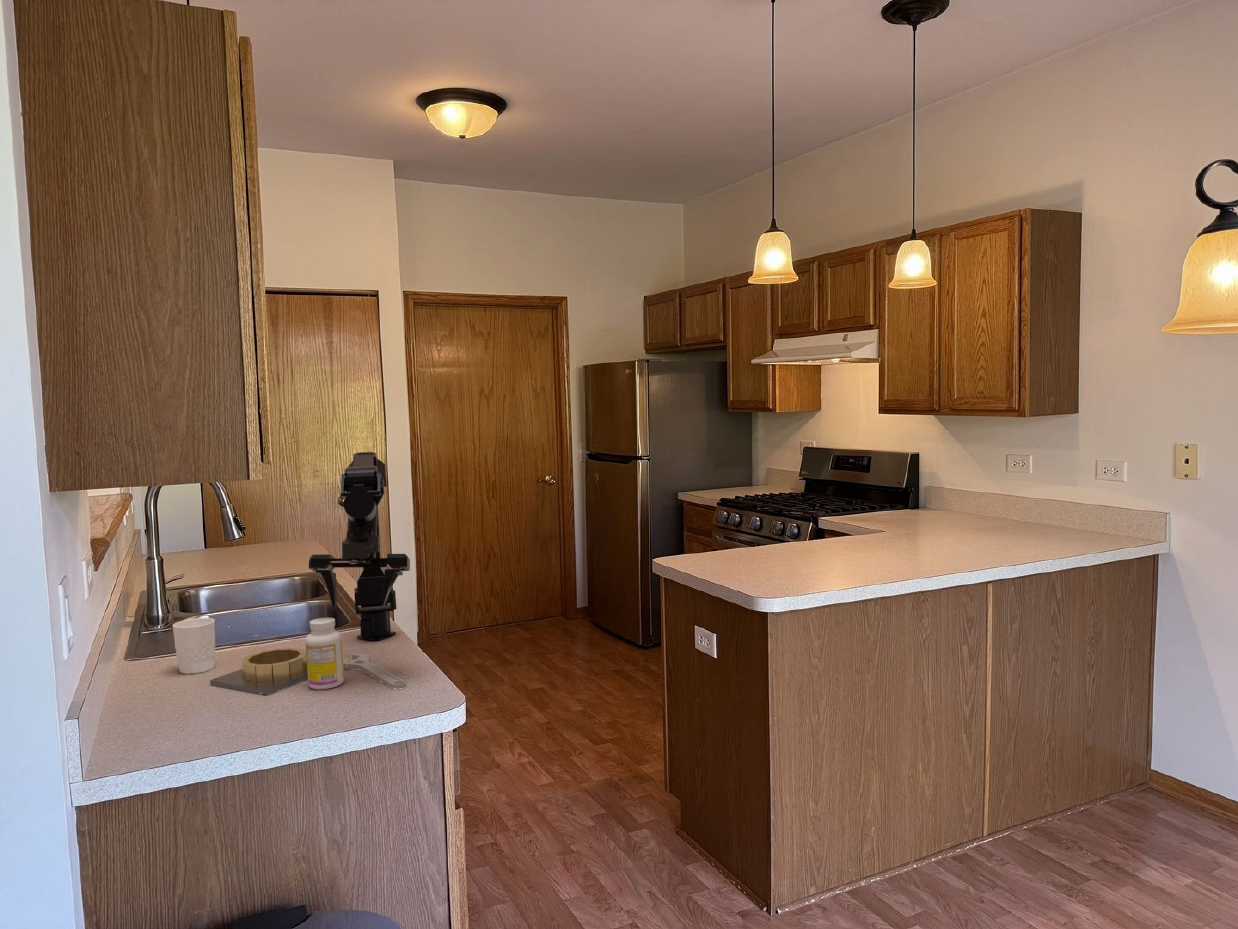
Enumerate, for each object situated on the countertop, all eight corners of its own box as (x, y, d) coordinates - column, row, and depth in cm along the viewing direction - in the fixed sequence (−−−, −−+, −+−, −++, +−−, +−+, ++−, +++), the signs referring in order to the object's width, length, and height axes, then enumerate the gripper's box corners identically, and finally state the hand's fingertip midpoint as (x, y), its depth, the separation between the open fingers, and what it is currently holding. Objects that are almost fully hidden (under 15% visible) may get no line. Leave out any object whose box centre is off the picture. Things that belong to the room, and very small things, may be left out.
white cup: (169, 676, 176) (165, 628, 175) (187, 664, 184) (183, 618, 183) (207, 674, 176) (204, 626, 175) (224, 662, 184) (220, 617, 183)
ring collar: (283, 659, 185) (282, 641, 185) (338, 667, 178) (336, 648, 178) (210, 685, 169) (208, 665, 169) (267, 695, 162) (265, 675, 162)
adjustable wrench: (409, 690, 164) (408, 681, 164) (376, 698, 160) (376, 689, 160) (364, 659, 184) (364, 651, 184) (334, 665, 181) (334, 657, 181)
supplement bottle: (324, 678, 171) (320, 615, 170) (351, 681, 169) (347, 617, 168) (300, 688, 165) (296, 623, 164) (328, 692, 163) (324, 626, 162)
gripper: (304, 521, 163) (299, 603, 159) (405, 520, 165) (402, 602, 161) (317, 531, 173) (312, 609, 169) (411, 530, 176) (408, 607, 172)
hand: (358, 606), depth 168 cm, fingers open, 9 cm apart
